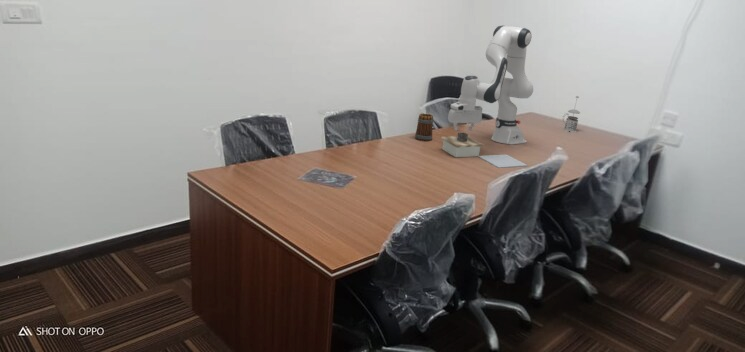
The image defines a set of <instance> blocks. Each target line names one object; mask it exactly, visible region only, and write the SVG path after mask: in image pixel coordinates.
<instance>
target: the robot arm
mask: <svg viewBox="0 0 745 352" xmlns="http://www.w3.org/2000/svg"><path fill="white" fill-rule="evenodd" d="M531 41H532V32H531V30H530V29H528V28H526V27H520V26H519V27H518V26H514V25H513V26H512V25H511V26H510V25H498V26H496V28H495V29H494V31H493V34H492V37H491V40H490V42H489V44H488V46H487V48H486V51H485V58H486V60H487V61H488V62H489V63H490V64H491V65H492V66H494V67H495V69H496V70H495V74H494V77H493V79H492V81H491V82H490V83H487V82H483V81H481V80H480V79H479V78H478V76H476V75H466V76H465V77H464V78H463V80H462V83H461V88H460V98H459V100H458V101H457V102H454V103H451V104H450V109H449V111H448V115H447V121H448V123H451V124H453V127H454V129H453V130H454V131H456V132H457V131H459V127H458V126H457V125H458V124H468V123H469V124H471V125H470V126H469V127H468V130H469V131H473V129H474V127H475V125H476V123H477V124H481V122H482V120H483V119H482V118H483V107H482V106H481V105H476V102H477V100H479V101H483V102H486V103H489V104H494V103H496V102H497V103H498V109H497V117H496V118H495V119H496V120H495V128H494V130H493V133H492V136H491V138H490V140H491V141H493V142H496V143H498V144H499V143H501V144H507V145H511V146H512V145H519V144H526V143H527V140H526V139H525V138H524V136H525V135H524V132H523V130H522V129H521V128H520V127H519V126H518V125H520V124H521V121H520V120H518V119H517V118H516V117H517V113H518V107H517V106H516V104H515V103H514V102H512V101H511V99H510V98H514V99H529V98H530V97H531V96H532V95H533V92H534V85H533V84H532V82H531V81H530V80H529V79H528V77H527V74H526V71H525V65H526V57H527V47H528V46H529V45H530V43H531ZM507 72H508V73H509V74H510V75H512V78H510V77H506V73H507ZM516 119H517V120H516ZM517 124H518V125H517Z"/></svg>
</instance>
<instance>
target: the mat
mask: <svg viewBox="0 0 745 352" xmlns="http://www.w3.org/2000/svg"><path fill="white" fill-rule="evenodd" d="M477 157H478V158H480V159H481V160H483V161H485V162H487V163H489V164H491V165H492V166H494V167H495V168H498V169H504V168H505V169H506V168H519V167H520V168H521V167H528V164H526V163H524V162H523V161H520V160H518V159H516V158H514V157H512V156H510V155H508V154H507V153H506V154H492V155H490V154H489V155H487V154H486V155H479V156H477Z"/></svg>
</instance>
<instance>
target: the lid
mask: <svg viewBox="0 0 745 352" xmlns="http://www.w3.org/2000/svg"><path fill="white" fill-rule="evenodd" d="M440 139H441V140H442V141H443V140H444V141H446V142H448V143H449V144H451V145H453V146H455V147H456V148H459V147H480V148H481V147H484V143H482V142H479V141H477V140H476V139H474V138H472V137H470V136H469V133H468V134H467V133H466V132H458V133H457V135H456V136H454V135H453V136H452V135H451V136H441V137H440Z"/></svg>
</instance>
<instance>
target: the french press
mask: <svg viewBox="0 0 745 352" xmlns="http://www.w3.org/2000/svg"><path fill="white" fill-rule="evenodd" d="M575 98H576V101H575V102H577V101H578V99H579V98H580V96H578V95H576V96H575ZM576 105H577V103H575V105H574V107H576ZM569 113H571V114H572V115H570V114H569ZM574 114H581V112H580V111H579V110H577V109H575V108H574V109H569V110H567V113H566V112H565V114H564V115H563V116H562V122H563V123H565V124H564V128H563V129H564V130H567V131H573V132H572V133H576V132H575V131H577V126H578V123H579V117H578V116H574ZM565 116H567V118H566V120H565ZM564 130H563V131H564ZM567 131H566V132H567Z"/></svg>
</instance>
